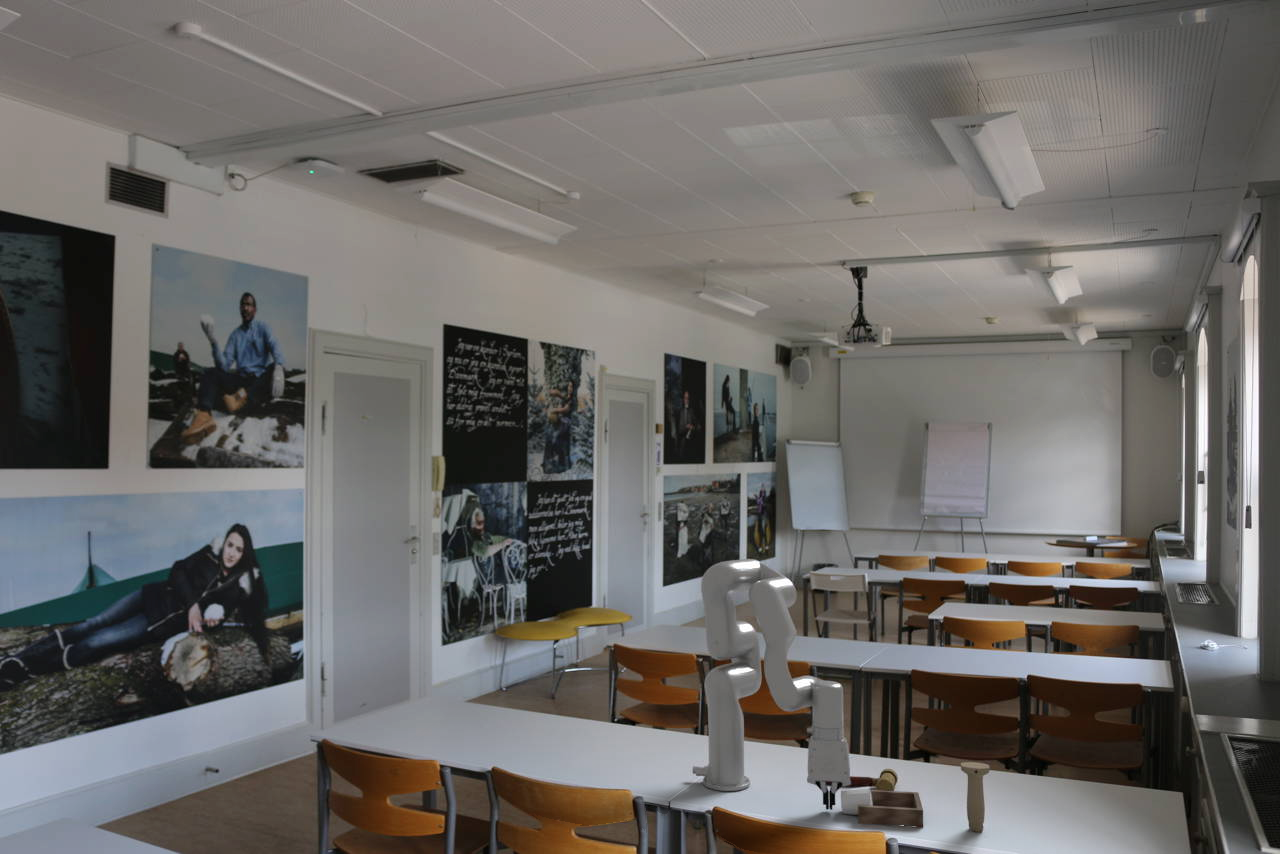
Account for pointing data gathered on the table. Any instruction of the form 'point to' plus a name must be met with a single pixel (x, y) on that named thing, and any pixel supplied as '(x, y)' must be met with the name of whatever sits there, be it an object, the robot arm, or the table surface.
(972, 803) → the handle
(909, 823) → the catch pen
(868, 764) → the table surface
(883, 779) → the gavel
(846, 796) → the white short tapered cylinder
